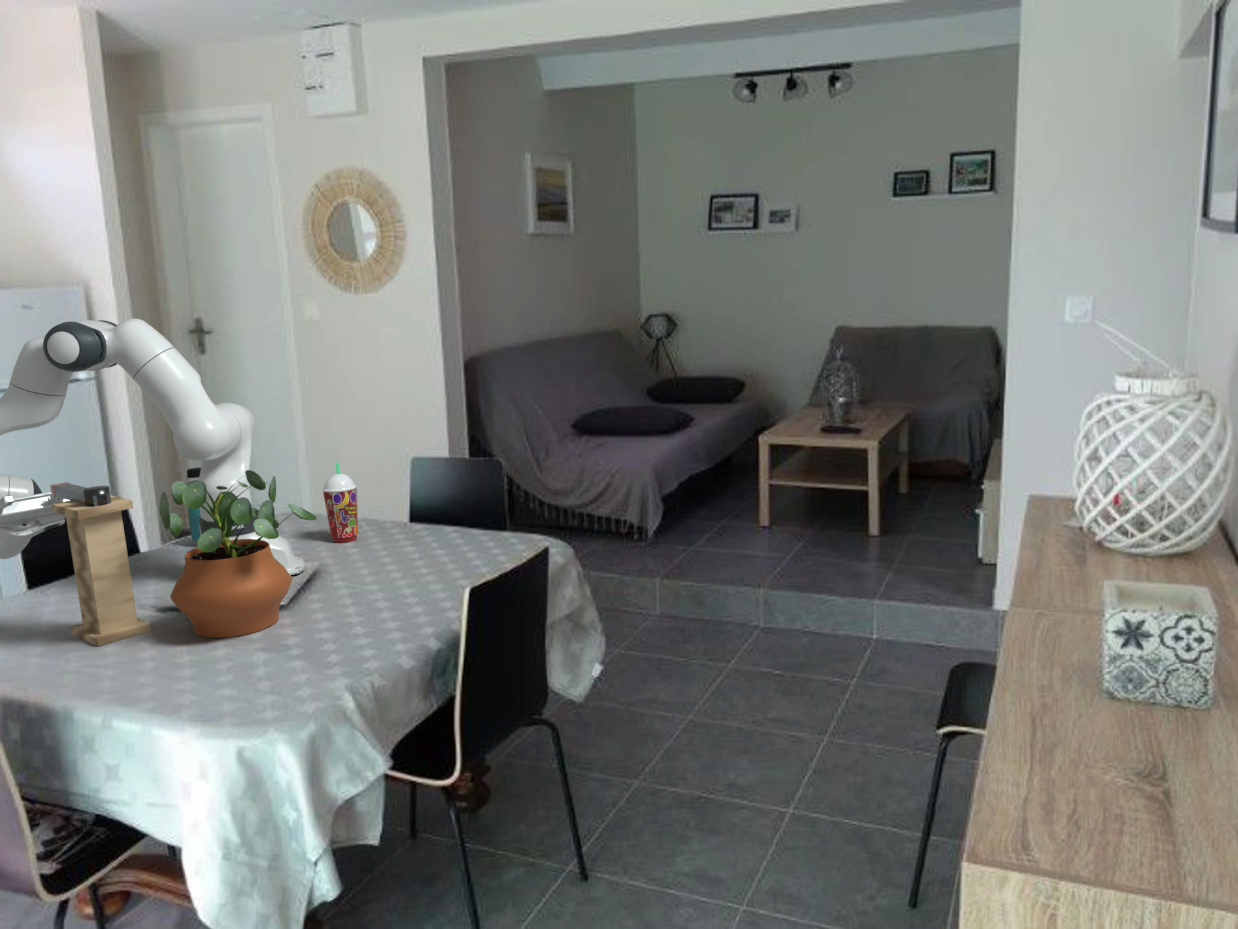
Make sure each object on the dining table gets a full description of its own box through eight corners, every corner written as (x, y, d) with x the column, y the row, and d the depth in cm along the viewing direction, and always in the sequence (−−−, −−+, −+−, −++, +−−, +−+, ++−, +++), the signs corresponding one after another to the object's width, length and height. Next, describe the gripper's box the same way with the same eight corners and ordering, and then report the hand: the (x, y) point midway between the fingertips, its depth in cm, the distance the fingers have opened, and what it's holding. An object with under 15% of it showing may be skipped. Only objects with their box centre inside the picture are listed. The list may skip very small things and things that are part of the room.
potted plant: (186, 612, 210) (166, 468, 204) (328, 595, 216) (313, 455, 210) (165, 651, 188) (142, 491, 182) (324, 631, 194) (306, 475, 188)
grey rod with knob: (48, 496, 203) (45, 481, 203) (71, 491, 206) (69, 477, 206) (91, 507, 190) (88, 491, 190) (115, 502, 193) (113, 487, 193)
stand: (72, 634, 200) (51, 504, 195) (124, 619, 208) (105, 493, 203) (98, 646, 192) (77, 511, 187) (151, 630, 200) (132, 500, 195)
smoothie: (357, 543, 258) (348, 465, 254) (324, 545, 258) (315, 466, 254) (365, 535, 266) (357, 459, 262) (333, 536, 266) (325, 460, 262)
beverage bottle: (209, 547, 261) (199, 470, 258) (186, 547, 263) (175, 471, 259) (224, 540, 268) (214, 465, 264) (201, 540, 269) (191, 465, 265)
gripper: (-42, 516, 214) (-28, 490, 205) (62, 497, 229) (79, 472, 220) (-33, 543, 213) (-18, 518, 204) (71, 523, 228) (89, 498, 219)
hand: (33, 494), depth 212 cm, fingers open, 8 cm apart
